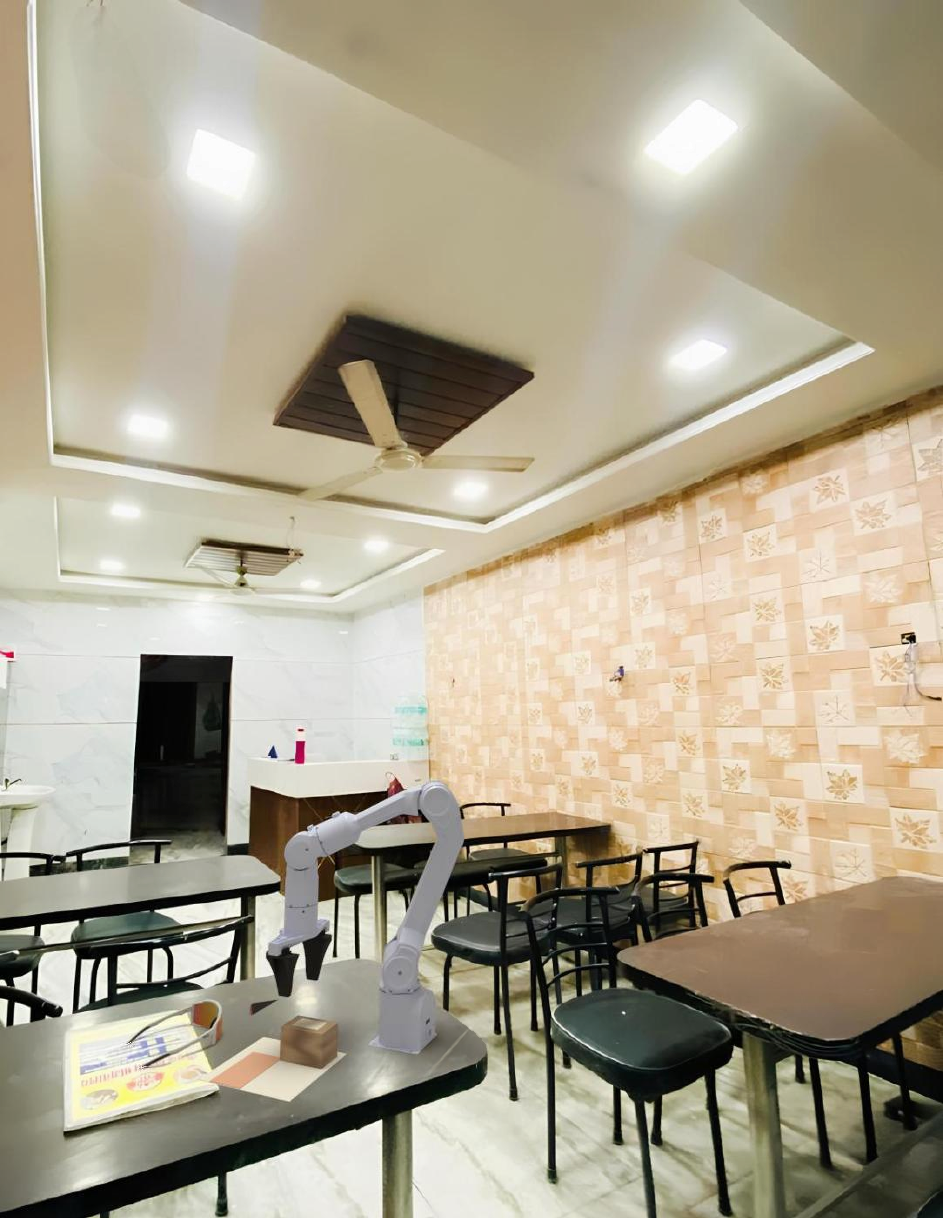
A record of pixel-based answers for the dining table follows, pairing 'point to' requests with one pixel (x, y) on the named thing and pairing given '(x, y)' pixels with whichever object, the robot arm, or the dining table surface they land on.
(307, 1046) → the card box
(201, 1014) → the sunglasses
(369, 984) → the dining table surface
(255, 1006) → the smartphone
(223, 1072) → the mat
